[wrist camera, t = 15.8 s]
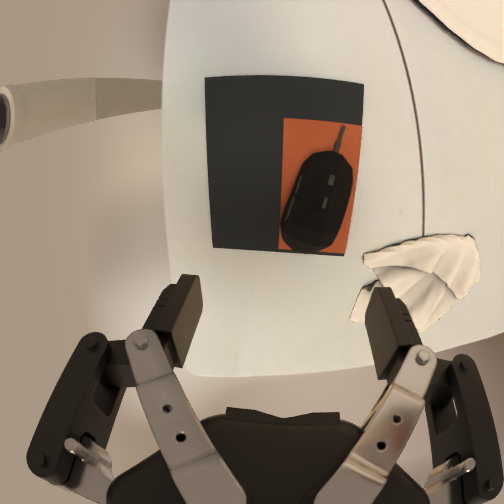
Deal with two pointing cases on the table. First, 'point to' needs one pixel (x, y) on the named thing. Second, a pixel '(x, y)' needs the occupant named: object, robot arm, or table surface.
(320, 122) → the mat
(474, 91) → the table surface
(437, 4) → the plate
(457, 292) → the cloth
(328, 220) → the gaming mouse
